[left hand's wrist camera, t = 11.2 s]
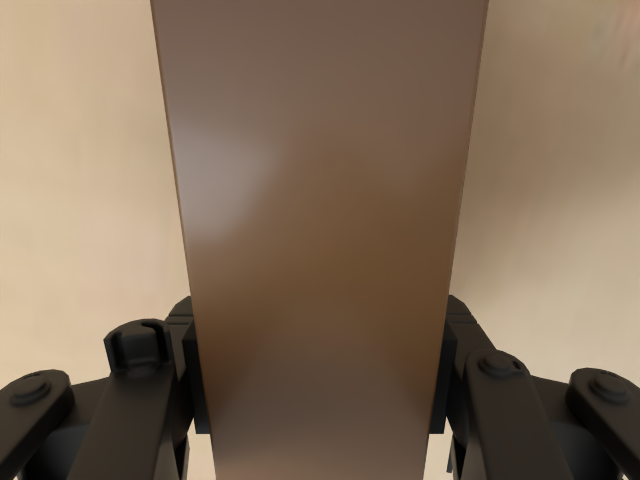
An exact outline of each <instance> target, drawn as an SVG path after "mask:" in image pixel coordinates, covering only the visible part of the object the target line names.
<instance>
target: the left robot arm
mask: <svg viewBox="0 0 640 480" xmlns="http://www.w3.org/2000/svg"><path fill="white" fill-rule="evenodd" d="M104 344H105V349H106V353H107V357H108V361H109V365H110V369H111V373H110V375H109V377H106V378H103V379H99V380H94V381H90V382H85V383H80V384H76V385H71V382H70V379H69V376H68V375H67V374H66V373H65V372H64V371H60V370H54V369H52V370H43V371H38V372H33V373H30V374H27V375H25V376H23V377H21V378H19V379H17V380H15V381H13V382H11V383H9V384H8V385H7V386H5V387H4V388H3V389H1V390H0V480H13V479H14V478H15V477H16V476H17V478H18V480H187V470H188V460H189V450H190V448H189V441H188V435H187V432H188V430H189V427H190V425H191V422H192V420H193V418H194V424H195V430H196V434H210V430H209V423H208V416H207V409H206V401H205V394H204V387H203V380H202V373H201V365H200V358H199V351H198V344H197V336H196V329H195V322H194V315H193V308H192V300H191V296H187V297H186V298H184V299H183V300H182V301H180V302H179V303H177V304H176V305H175V306H174V308H173V309H172V310H171V312H170V313H169V316H168V317H167V318H166V319H165V321H162V320H158V319H140V320H135V321H131V322H128V323H126V324H123V325H121V326H119V327H117V328H116V329H114V330H112V331H111V332H109V334H108V335H107V336H106V337H105V338H104ZM446 416H447V419H448V421H449V424H450V426H451V429H452V431H453V435H452V441H451V447H450V453H449V459H448V465H447V472H448V473H452V469H453V479H454V480H623V478H622V477H623V475H624V474H625V476H626V477H627V478H628V479H629V480H640V388H639V387H637V386H636V385H634V384H633V383H632V382H630V381H629V380H627V379H625V378H623V377H621V376H619V375H617V374H615V373H612V372H609V371H606V370H601V369H595V368H582V369H577V370H576V371H574V372H573V373H572V374H571V377H570V381H569V384H567V383H562V382H558V381H553V380H548V379H544V378H539V377H536V376H532V375H530V372H529V370H528V369H527V368H526V366H525V365H524V363H522V362H521V361H520V360H518V359H517V358H516V357H514V356H512V355H510V354H508V353H506V352H503V351H500V350H496V348H495V347H494V345H493V344H492V342H491V341H490V340H489V338H488V337H487V335H486V334H485V332H484V331H483V329H482V328H481V327H480V325H479V324H477V321H476V319H475V318H474V317H473V315H471V312H470V311H469V309H468V308H467V306H466V305H465V304H464V303H463V302H462V301H460V300H459V299H457V298H456V297H454V296H453V295H448V301H447V308H446V316H445V323H444V330H443V338H442V345H441V352H440V359H439V367H438V374H437V381H436V389H435V396H434V403H433V411H432V418H431V425H430V432H429V434H444V428H445V422H446Z"/></svg>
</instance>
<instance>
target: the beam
mask: <svg viewBox="0 0 640 480" xmlns="http://www.w3.org/2000/svg"><path fill="white" fill-rule="evenodd" d="M488 2H489V0H150V4H151V11H152V19H153V26H154V33H155V40H156V47H157V55H158V62H159V69H160V76H161V84H162V91H163V98H164V105H165V112H166V120H167V127H168V134H169V141H170V149H171V156H172V163H173V170H174V177H175V185H176V192H177V199H178V206H179V214H180V221H181V228H182V235H183V242H184V250H185V257H186V264H187V271H188V279H189V286H190V293H191V300H192V308H193V315H194V322H195V329H196V336H197V344H198V351H199V358H200V365H201V373H202V380H203V387H204V394H205V401H206V409H207V416H208V423H209V430H210V438H211V445H212V452H213V459H214V466H215V474H216V480H423V476H424V469H425V462H426V454H427V447H428V440H429V432H430V425H431V418H432V411H433V403H434V396H435V389H436V381H437V374H438V367H439V359H440V352H441V345H442V338H443V330H444V323H445V316H446V308H447V301H448V294H449V287H450V279H451V272H452V265H453V257H454V250H455V243H456V236H457V228H458V221H459V214H460V206H461V199H462V192H463V185H464V177H465V170H466V163H467V155H468V148H469V141H470V134H471V126H472V119H473V112H474V104H475V97H476V90H477V83H478V75H479V68H480V61H481V53H482V46H483V39H484V32H485V24H486V17H487V10H488Z"/></svg>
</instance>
